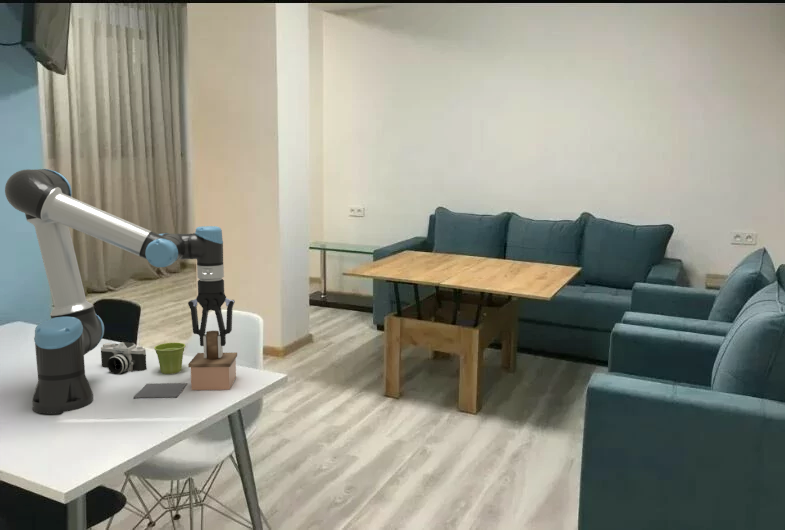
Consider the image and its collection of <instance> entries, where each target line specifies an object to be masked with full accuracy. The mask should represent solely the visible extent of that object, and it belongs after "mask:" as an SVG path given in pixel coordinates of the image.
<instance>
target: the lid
mask: <svg viewBox="0 0 785 530" xmlns="http://www.w3.org/2000/svg"><path fill="white" fill-rule="evenodd" d="M205 332H206V333H205V334H206V337H207V358H204V352H197V354H195V355H194V357H193V358H192V359H191V360H190V362H189V363H188V365H187V366H188V367H187V368H191V367H230V366H231V365H232V363H233V362H234V360H235V359H236V358H237V357H238V352H223V355H222V357H221V358H218V335H219V334H220V331H219V330H208V331H205ZM236 360H237V359H236Z"/></svg>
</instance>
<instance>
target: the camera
mask: <svg viewBox="0 0 785 530" xmlns="http://www.w3.org/2000/svg"><path fill="white" fill-rule="evenodd" d="M100 358H101V361H100V362H101V367H102V368H107V369H108V370H109V372H110V373H112V374H114V375H120V374H123V373H124V372H132V371H133V372H143V371H145V370H147V369H148V368H147V352H146V348H145V347H143V346H142V345H138V346H137V345H136V343H135V342H128V341H127V342H126V341H122V342H120V343H111V342H108V343H107V342H105V343H103V344H102V346H101V347H100ZM117 365H118V366H120V367H119V368H117Z"/></svg>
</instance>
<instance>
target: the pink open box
mask: <svg viewBox="0 0 785 530" xmlns="http://www.w3.org/2000/svg"><path fill="white" fill-rule="evenodd" d="M236 360H237V359H235V360H234V362H233V363H232V365H231V366H230V367H190V382H191V384H190V385H191V387H190V388H191V391H219V390H220V391H222V390H226V391H228V390H231V388H232V386H233V384H234V382H235V381H234V380H236V379H237V372H236V371H237V361H236ZM235 378H236V379H235Z"/></svg>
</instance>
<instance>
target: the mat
mask: <svg viewBox="0 0 785 530" xmlns="http://www.w3.org/2000/svg"><path fill="white" fill-rule="evenodd" d="M187 385H188V383H187V382H178V383H176V382H175V383H173V382H170V383H169V382H166V383H164V382H163V383H154V382H153V383H145V385H144V386H143V387H142V388H141V389H140V390H139V391H138V392H137V393H136V394H135V395H134V396H133V399H174V398H175V399H176V398H178V397H179V396H180V394H181V393H182V392H183V391H184V389H185V388H186V387H187Z"/></svg>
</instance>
